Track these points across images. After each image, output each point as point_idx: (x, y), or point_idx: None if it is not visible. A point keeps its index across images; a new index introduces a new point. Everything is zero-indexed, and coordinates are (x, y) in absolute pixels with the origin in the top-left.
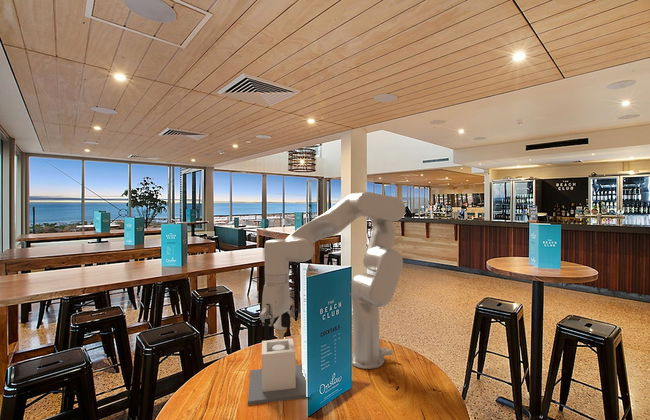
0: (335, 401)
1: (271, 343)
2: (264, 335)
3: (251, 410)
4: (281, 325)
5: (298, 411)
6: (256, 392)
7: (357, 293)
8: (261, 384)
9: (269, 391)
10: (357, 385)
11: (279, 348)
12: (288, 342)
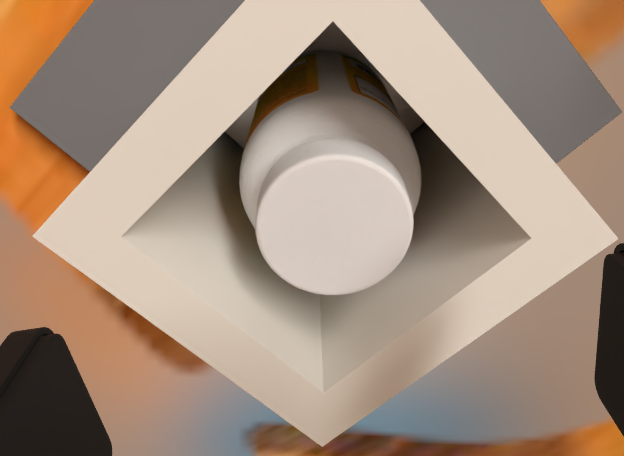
0: (352, 436)
1: (379, 70)
2: (2, 358)
3: (9, 160)
4: (615, 264)
5: (183, 355)
6: (114, 78)
7: None
8: (207, 29)
9: None
10: (528, 451)
11: (312, 262)
12: (497, 255)
